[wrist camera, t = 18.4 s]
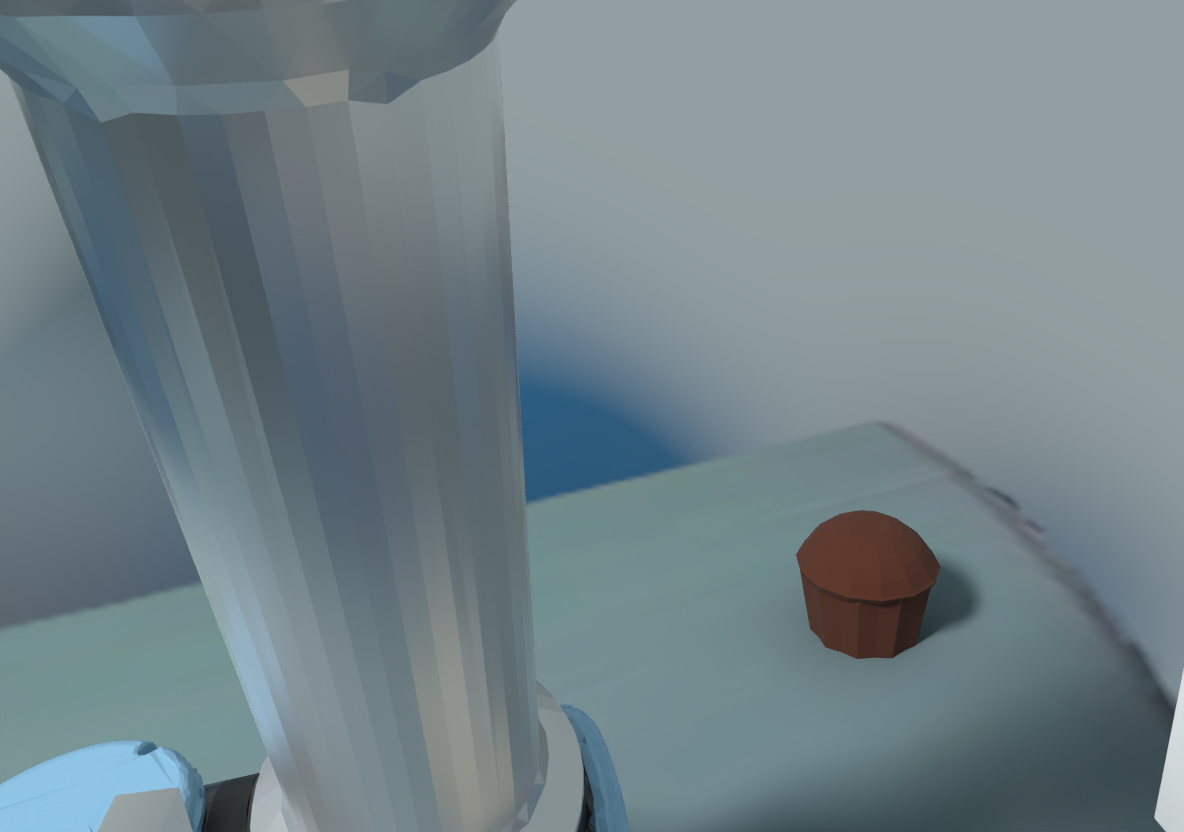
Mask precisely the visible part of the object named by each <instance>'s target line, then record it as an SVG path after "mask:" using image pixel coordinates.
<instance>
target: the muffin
mask: <svg viewBox="0 0 1184 832" xmlns="http://www.w3.org/2000/svg"><path fill="white" fill-rule="evenodd" d="M796 556H797V560H798V564H799V567H800V572H801V578H802V584H803V590H804V595H805V601H806V607H807V613H808V619H809V624H810V629H811V630H812V631H813V632H814V633H815V634H816V635H817V636H818V637H819V638H820V639H821V641H822V643H823V644H824V646H825V647H826V648H830V649H833V650H836V651H840V652H843V653H845V654H847V655H849V656H852V657H854V658H856V659H861V658H874V657H875V658H893V657H894V656H896V655H897V654H899V653H900V652H902V651H904V650H906V649H908V648H910V647H913V646H915V645H916V641H917V637H918V633H919V630H920V626H921V622H922V618H923V614H924V611H925V607H926V603H927V599H928V595H929V592H930V588H931V587H932V586H933V585H934V584H935V581H936V579H937V576H938V573H939V570H940V565H939V563H938V562H937V560H936V558H935V556H934V554H933V552H932V550H930V549H929V547H928V546H927V545H926V543H925V542H924V541H923V539H922V538H921V537H920V536H919V534H918V533H917V532H916V531H914V530H913V529H911V528H910V527H908V526H907V525H905V524H904V523H902V522H901V521H899V520H898V519H896V518H894V517H891V516H889V515H885V514H882V513H879V512H876V511H863V510H860V511H853V512H847V513H842V514H839V515H837V516H835V517H833V518H831V519H829V520H827V521H825V522H823V523H821V524H820V525H819V526H818V527H817V528H816V529H815V530H814V531H813V532H812V533H811V534H810V536H809V537H808V538H807V539H806V540H805V541H804V543H803V544H802V546H801V547H800V549H799V551H798V552H797V554H796Z"/></svg>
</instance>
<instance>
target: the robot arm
mask: <svg viewBox="0 0 1184 832" xmlns="http://www.w3.org/2000/svg"><path fill="white" fill-rule="evenodd" d="M516 1H517V0H0V69H1V70H2V71H3V72H4V73H5V74H6V75H8V77H9V80H10V83H11V85H12V88H13V91H14V93H15V96H16V98H17V101H18V103H19V106H20V109H21V111H22V114H23V117H24V119H25V122H26V124H27V127H28V130H29V132H30V135H31V138H32V140H33V143H34V145H35V148H36V150H37V153H38V156H39V158H40V161H41V163H42V166H43V169H44V171H45V174H46V177H47V179H48V182H49V184H50V187H51V190H52V192H53V195H54V198H55V200H56V203H57V205H58V208H59V211H60V213H61V216H62V218H63V221H64V224H65V226H66V229H67V231H68V234H69V237H70V239H71V242H72V244H73V247H74V250H75V252H76V255H77V258H78V260H79V263H80V265H81V268H82V271H83V273H84V275H85V278H86V281H87V284H88V286H89V289H90V291H91V294H92V297H93V299H94V302H95V304H96V307H97V310H98V312H99V315H100V317H101V320H102V323H103V325H104V328H105V331H106V333H107V336H108V338H109V341H110V344H111V346H112V349H113V351H114V354H115V356H116V359H117V362H118V364H119V367H120V370H121V372H122V375H123V377H124V380H125V383H126V385H127V387H128V390H129V393H130V396H131V398H132V400H133V404H134V406H135V409H136V411H137V414H138V416H139V419H140V422H141V424H142V427H143V430H144V432H145V435H146V437H147V440H148V443H149V445H150V448H151V450H152V453H153V456H154V458H155V461H156V464H157V466H158V469H159V471H160V474H161V477H162V479H163V482H164V484H165V487H166V490H167V492H168V495H169V498H170V500H171V503H172V505H173V508H174V511H175V513H176V516H177V518H178V521H179V524H180V526H181V529H182V531H183V534H184V537H185V539H186V542H187V544H188V547H189V550H190V552H191V555H192V558H193V560H194V562H195V565H196V568H197V570H198V573H199V576H200V578H201V581H202V584H203V586H204V589H205V591H206V594H207V597H208V599H209V602H210V604H211V607H212V610H213V612H214V615H215V618H216V620H217V623H218V625H219V628H220V631H221V633H222V636H223V638H224V641H225V644H226V646H227V649H228V651H229V654H230V657H231V659H232V662H233V664H234V667H235V670H236V672H237V675H238V678H239V680H240V683H241V685H242V688H243V691H244V693H245V696H246V698H247V701H248V704H249V706H250V709H251V711H252V714H253V717H254V719H255V722H256V724H257V727H258V730H259V732H260V735H261V738H262V740H263V743H264V745H265V748H266V751H267V753H268V756H267V758H266V760H265V762H264V764H263V766H262V768H261V772H260V773H257V774H253V775H248V776H244V777H239V778H235V779H230V780H225V781H221V782H216V783H212V784H207V785H203V782H202V778H201V775H200V774H199V773H197V769H196V768H193V767H192V766H191V764H190V763H188V762H187V761H186V759H185V758H184V757H183V756H182V755H181V754H179V753H178V752H177V751H176V750H173V749H171V748H168V747H165V746H164V747H160V748H157V747H156V745H155V744H154V743H152V742H149V741H143V740H122V741H114V742H106V743H101V744H96V745H92V746H88V747H84V748H81V749H78V750H74V751H71V752H68V753H65V754H63V755H60V756H57V757H55V758H52V759H50V760H47V761H45V762H43V763H40V764H38V765H36V766H34V767H32V768H30V769H28V770H26V771H24V772H22V773H20V774H18V775H16V776H15V777H13V778H11V779H9V780H7V781H6V782H4V783H2V784H0V832H630V831H629V825H628V820H627V815H626V810H625V805H624V801H623V796H622V792H621V788H620V785H619V781H618V778H617V775H616V772H615V768H614V765H613V762H612V759H611V757H610V754H609V751H608V748H607V745H606V743H605V741H604V739H603V737H602V735H601V733H600V731H599V729H598V727H597V726H596V724H595V723H594V721H593V720H592V719H591V718H590V717H589V716H588V715H587V714H586V713H585V712H583V711H581V710H579V709H577V708H574V707H573V706H571V705H565V704H561V705H559V703H558V702H557V700H556V699H555V698H554V697H553V696H552V695H551V693H550V692H549V691H548V690H547V689H546V688H545V687H544V686H543V685H542V684H541V683H539V682H538V681H537V680H536V673H535V655H534V638H533V620H532V603H531V586H530V568H529V551H528V534H527V516H526V499H525V483H524V482H525V481H524V464H523V447H522V429H521V412H520V395H519V377H518V360H517V343H516V325H515V308H514V290H513V273H512V256H511V239H510V221H509V204H508V187H507V170H506V152H505V135H504V117H503V99H502V83H501V65H500V48H499V30H498V29H499V27H500V25H501V22H502V20H503V18H504V15H505V13H506V12H507V11H508V10H509V9H510V8H511V6H512V5H513V4H514V3H515V2H516ZM1154 818H1155V819H1156V821H1157V822H1158V823H1159V824H1160V825H1161V826H1162V828H1163V829H1164V830H1165V831H1166V832H1184V670H1183V675H1182V680H1181V685H1180V690H1179V695H1178V700H1177V705H1176V710H1175V715H1174V720H1173V725H1172V730H1171V735H1170V741H1169V746H1168V751H1167V756H1166V761H1165V766H1164V771H1163V776H1162V781H1161V786H1160V791H1159V796H1158V801H1157V806H1156V811H1155V816H1154Z"/></svg>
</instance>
